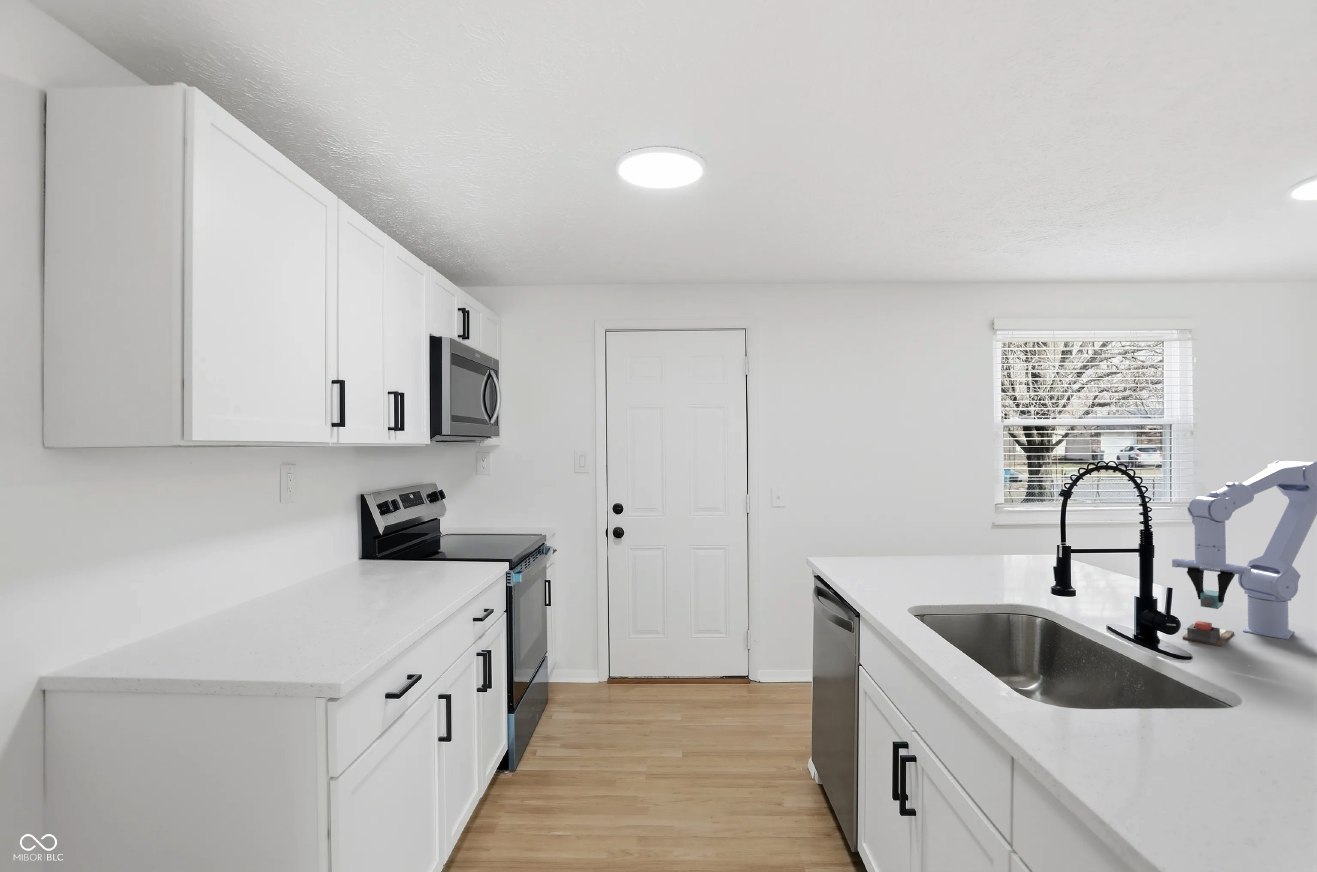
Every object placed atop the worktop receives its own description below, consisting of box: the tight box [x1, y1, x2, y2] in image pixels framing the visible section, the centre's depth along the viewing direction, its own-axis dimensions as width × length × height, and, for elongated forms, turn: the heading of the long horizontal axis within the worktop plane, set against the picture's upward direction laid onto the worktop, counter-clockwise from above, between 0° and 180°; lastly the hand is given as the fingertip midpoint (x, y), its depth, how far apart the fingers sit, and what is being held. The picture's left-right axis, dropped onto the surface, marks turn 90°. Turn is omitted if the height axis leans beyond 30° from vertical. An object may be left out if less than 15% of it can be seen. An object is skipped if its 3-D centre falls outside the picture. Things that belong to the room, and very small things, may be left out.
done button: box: [1194, 620, 1213, 631], centre depth 148 cm, size 3×3×2 cm
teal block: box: [1199, 589, 1224, 610], centre depth 153 cm, size 8×3×3 cm, turn 128°
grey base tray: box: [1182, 623, 1235, 647], centre depth 151 cm, size 14×7×3 cm, turn 128°
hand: (1210, 600), depth 153 cm, fingers closed on teal block, 3 cm apart
